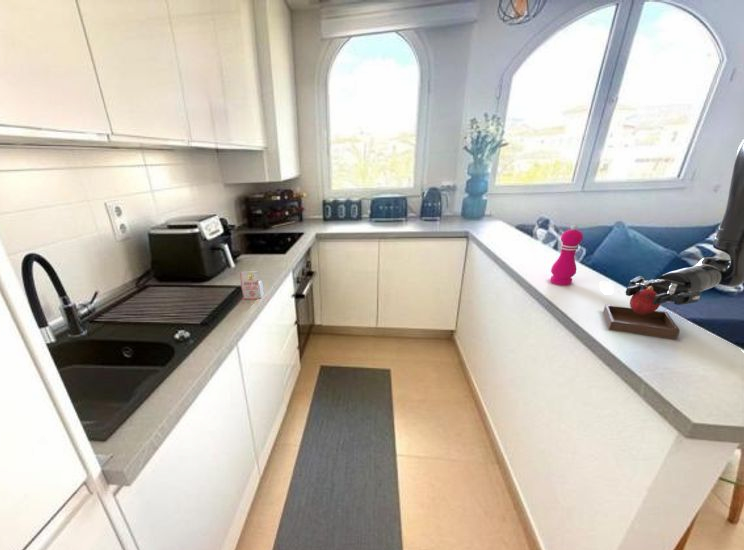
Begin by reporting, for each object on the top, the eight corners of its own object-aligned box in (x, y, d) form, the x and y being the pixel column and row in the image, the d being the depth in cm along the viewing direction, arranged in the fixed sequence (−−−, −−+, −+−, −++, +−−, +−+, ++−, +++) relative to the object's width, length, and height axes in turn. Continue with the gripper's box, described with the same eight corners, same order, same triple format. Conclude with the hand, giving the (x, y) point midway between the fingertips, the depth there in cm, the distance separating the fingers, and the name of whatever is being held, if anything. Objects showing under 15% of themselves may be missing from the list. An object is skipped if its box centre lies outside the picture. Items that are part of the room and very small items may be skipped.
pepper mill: (552, 277, 125) (565, 221, 116) (575, 281, 120) (591, 224, 111) (545, 283, 121) (558, 225, 112) (569, 287, 116) (585, 228, 107)
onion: (654, 322, 87) (665, 292, 83) (624, 316, 90) (634, 288, 87) (655, 313, 90) (666, 285, 87) (627, 308, 94) (636, 281, 90)
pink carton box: (246, 295, 129) (241, 270, 125) (263, 295, 128) (259, 269, 124) (243, 299, 126) (238, 273, 121) (261, 299, 125) (257, 273, 121)
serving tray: (663, 320, 93) (667, 311, 91) (676, 339, 84) (680, 330, 83) (602, 312, 99) (605, 304, 98) (608, 329, 90) (611, 321, 89)
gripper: (656, 262, 96) (615, 273, 91) (725, 277, 84) (682, 292, 79) (647, 287, 99) (607, 299, 95) (712, 305, 87) (669, 320, 82)
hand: (641, 296), depth 87 cm, fingers closed on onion, 5 cm apart
